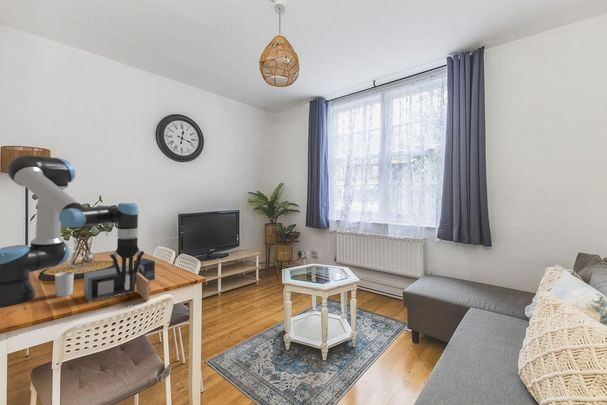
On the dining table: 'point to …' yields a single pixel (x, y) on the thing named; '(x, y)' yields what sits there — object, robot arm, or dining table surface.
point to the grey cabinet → (105, 284)
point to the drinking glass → (64, 283)
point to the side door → (142, 286)
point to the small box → (146, 269)
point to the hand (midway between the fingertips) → (126, 288)
